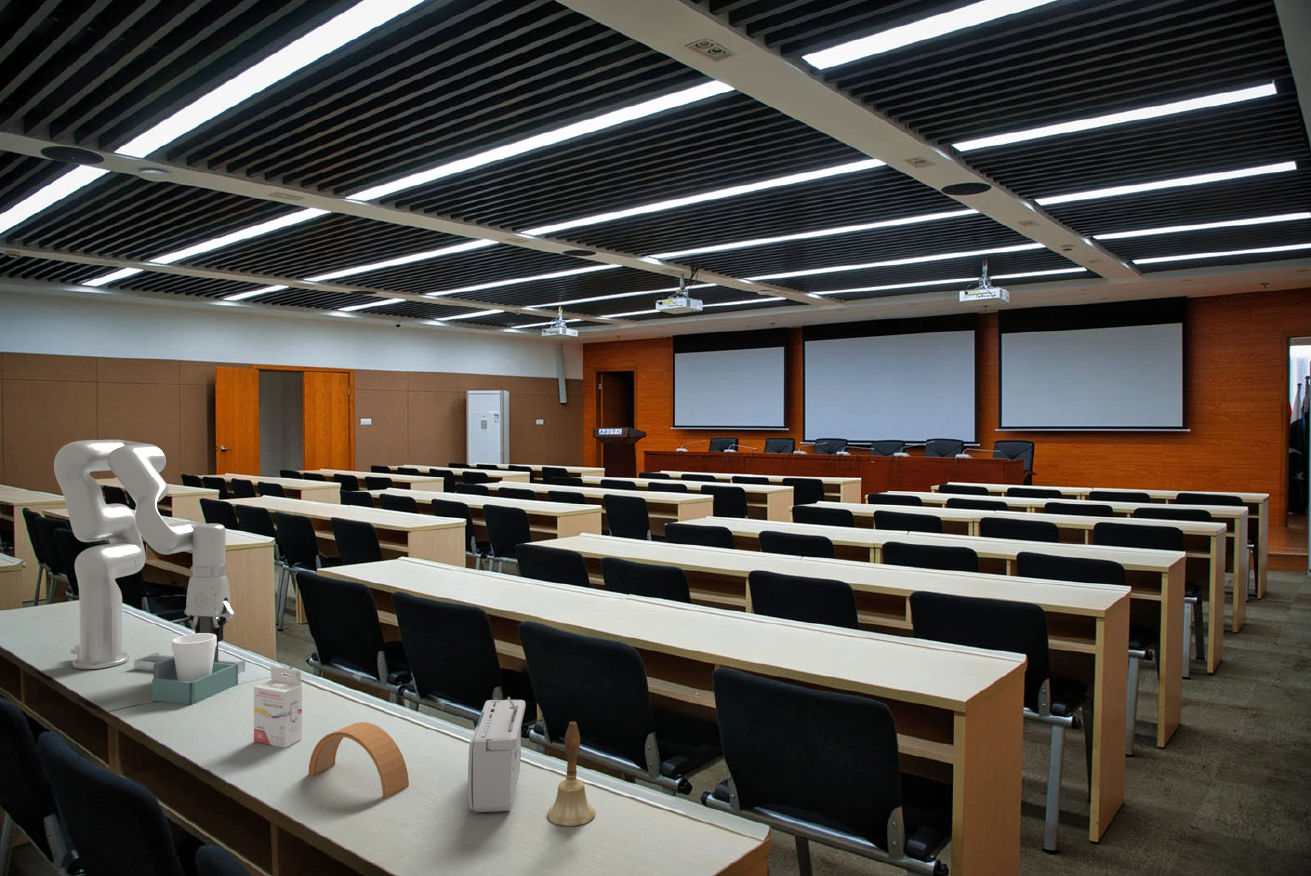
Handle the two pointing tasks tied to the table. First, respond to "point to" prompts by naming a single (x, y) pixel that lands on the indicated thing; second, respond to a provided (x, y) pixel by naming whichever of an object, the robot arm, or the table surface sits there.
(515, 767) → the stereo radio cassette player
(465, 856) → the table surface
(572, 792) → the hand bell
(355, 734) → the arch
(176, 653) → the foam cup
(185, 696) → the box
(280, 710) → the ink cartridge box
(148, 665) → the striker rails
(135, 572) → the robot arm
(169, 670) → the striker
